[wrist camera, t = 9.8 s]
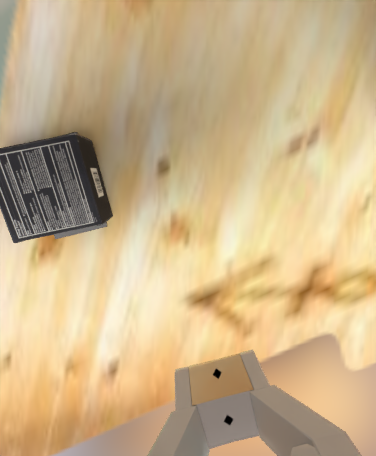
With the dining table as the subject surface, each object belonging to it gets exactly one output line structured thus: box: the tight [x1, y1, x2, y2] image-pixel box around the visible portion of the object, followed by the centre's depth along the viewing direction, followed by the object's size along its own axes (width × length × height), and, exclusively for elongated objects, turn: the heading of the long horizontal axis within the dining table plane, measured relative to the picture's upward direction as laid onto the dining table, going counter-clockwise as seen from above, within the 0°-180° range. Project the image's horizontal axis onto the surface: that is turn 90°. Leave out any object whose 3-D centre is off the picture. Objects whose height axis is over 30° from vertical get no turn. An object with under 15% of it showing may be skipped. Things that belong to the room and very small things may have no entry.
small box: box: [0, 132, 113, 243], centre depth 30 cm, size 11×6×10 cm
